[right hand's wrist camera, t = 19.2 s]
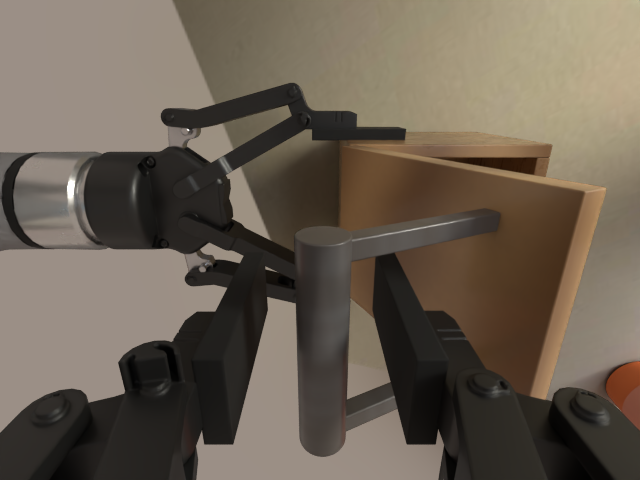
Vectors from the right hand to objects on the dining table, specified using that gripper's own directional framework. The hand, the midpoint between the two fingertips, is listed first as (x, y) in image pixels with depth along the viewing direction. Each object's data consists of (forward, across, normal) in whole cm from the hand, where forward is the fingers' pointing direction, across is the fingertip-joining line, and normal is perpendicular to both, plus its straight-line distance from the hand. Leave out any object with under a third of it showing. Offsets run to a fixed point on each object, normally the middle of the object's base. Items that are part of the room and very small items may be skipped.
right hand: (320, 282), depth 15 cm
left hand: (+14, +6, 0) cm, 15 cm away
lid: (+3, +5, 0) cm, 6 cm away
